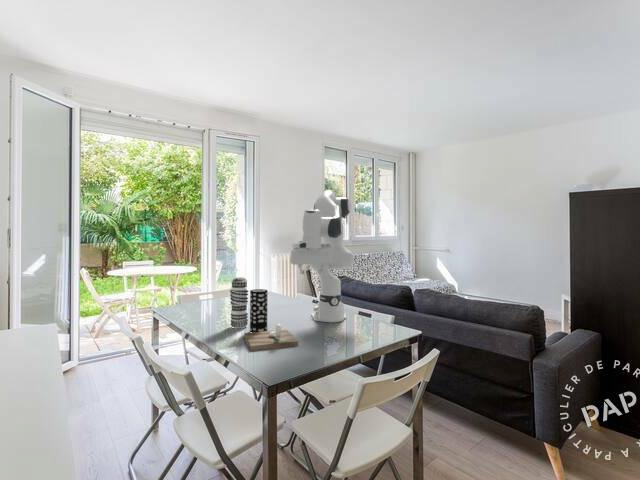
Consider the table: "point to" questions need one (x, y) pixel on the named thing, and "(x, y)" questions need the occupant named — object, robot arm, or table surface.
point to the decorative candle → (239, 303)
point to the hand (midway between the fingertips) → (311, 273)
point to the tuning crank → (277, 333)
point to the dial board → (269, 340)
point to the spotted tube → (258, 310)
